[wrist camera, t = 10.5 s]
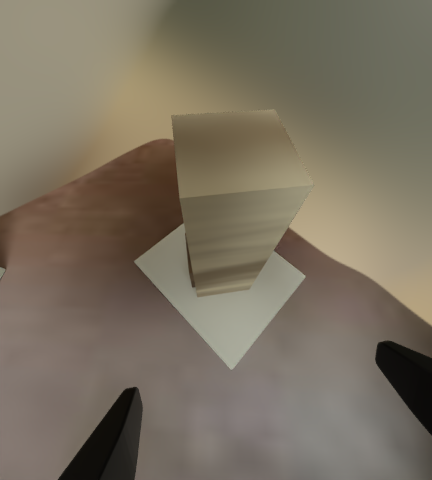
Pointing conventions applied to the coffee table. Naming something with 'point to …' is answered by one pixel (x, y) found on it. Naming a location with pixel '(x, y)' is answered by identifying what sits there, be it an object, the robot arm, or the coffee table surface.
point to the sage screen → (2, 271)
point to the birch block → (235, 194)
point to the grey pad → (220, 297)
